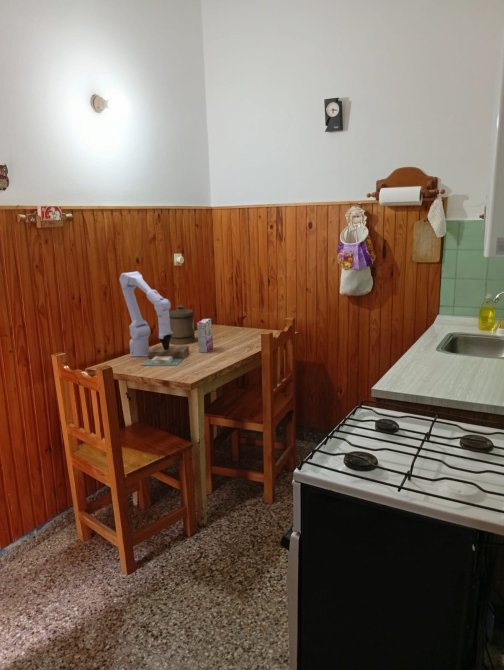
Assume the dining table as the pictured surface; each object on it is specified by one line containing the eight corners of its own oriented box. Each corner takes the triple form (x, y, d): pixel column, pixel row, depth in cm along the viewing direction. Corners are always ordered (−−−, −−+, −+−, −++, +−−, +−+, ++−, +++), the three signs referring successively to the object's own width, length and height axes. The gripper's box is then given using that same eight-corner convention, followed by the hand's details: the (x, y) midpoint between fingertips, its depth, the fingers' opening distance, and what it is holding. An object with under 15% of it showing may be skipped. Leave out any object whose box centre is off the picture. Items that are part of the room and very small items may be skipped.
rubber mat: (141, 365, 235) (141, 365, 235) (148, 359, 246) (148, 359, 246) (177, 365, 233) (177, 364, 233) (183, 359, 243) (182, 358, 243)
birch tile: (155, 356, 242) (155, 360, 242) (151, 359, 236) (151, 363, 237) (172, 356, 241) (173, 360, 241) (169, 359, 235) (169, 363, 235)
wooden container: (200, 340, 284) (197, 303, 280) (181, 345, 274) (178, 307, 269) (184, 337, 294) (181, 302, 290) (164, 342, 284) (161, 305, 279)
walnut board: (149, 359, 246) (148, 352, 245) (156, 353, 258) (155, 346, 257) (183, 359, 244) (182, 351, 243) (189, 353, 255) (188, 345, 255)
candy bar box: (204, 347, 266) (202, 318, 263) (213, 347, 265) (211, 318, 262) (198, 352, 255) (196, 322, 252) (207, 353, 254) (205, 322, 251)
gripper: (167, 326, 235) (169, 353, 238) (175, 320, 249) (177, 346, 252) (153, 326, 236) (156, 353, 239) (162, 320, 250) (164, 346, 253)
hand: (166, 349), depth 246 cm, fingers closed
